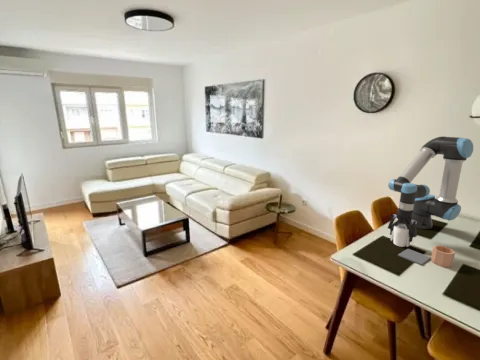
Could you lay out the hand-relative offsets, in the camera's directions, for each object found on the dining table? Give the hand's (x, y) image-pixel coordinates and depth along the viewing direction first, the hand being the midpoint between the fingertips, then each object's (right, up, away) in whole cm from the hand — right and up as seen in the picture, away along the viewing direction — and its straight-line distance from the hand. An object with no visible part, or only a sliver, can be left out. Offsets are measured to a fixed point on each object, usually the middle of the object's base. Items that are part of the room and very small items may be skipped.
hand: (399, 242), depth 162 cm
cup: (0, -1, 0) cm, 1 cm away
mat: (-1, -5, -14) cm, 15 cm away
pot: (+11, -6, -20) cm, 23 cm away
